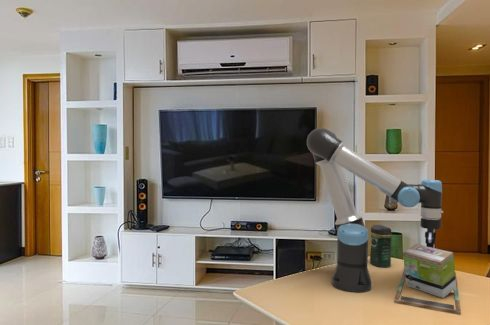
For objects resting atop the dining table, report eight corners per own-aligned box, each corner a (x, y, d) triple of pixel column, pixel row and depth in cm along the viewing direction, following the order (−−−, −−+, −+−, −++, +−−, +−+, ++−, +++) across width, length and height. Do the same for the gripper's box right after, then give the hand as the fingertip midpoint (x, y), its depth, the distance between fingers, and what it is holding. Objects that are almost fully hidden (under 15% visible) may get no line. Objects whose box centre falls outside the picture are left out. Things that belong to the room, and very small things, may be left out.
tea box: (405, 287, 151) (401, 251, 148) (419, 276, 156) (415, 242, 154) (443, 299, 138) (440, 261, 136) (457, 287, 144) (454, 251, 142)
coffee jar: (393, 267, 177) (394, 227, 176) (378, 268, 175) (379, 227, 174) (381, 261, 186) (382, 223, 186) (367, 262, 184) (368, 223, 184)
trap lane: (393, 302, 134) (394, 299, 134) (404, 267, 177) (405, 264, 177) (460, 314, 125) (461, 311, 125) (455, 274, 167) (455, 271, 167)
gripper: (441, 221, 147) (439, 282, 147) (441, 216, 158) (440, 273, 159) (419, 219, 150) (418, 279, 151) (421, 215, 162) (420, 270, 162)
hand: (429, 276), depth 155 cm, fingers closed
